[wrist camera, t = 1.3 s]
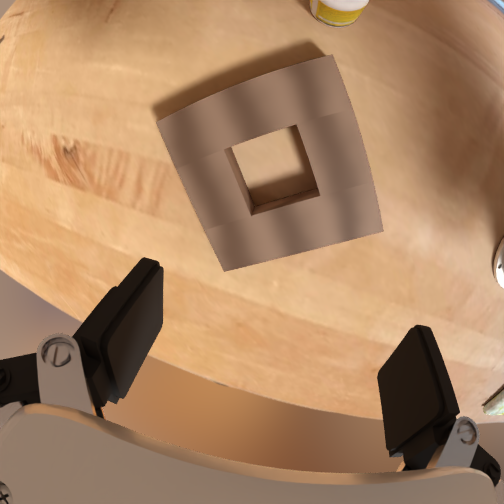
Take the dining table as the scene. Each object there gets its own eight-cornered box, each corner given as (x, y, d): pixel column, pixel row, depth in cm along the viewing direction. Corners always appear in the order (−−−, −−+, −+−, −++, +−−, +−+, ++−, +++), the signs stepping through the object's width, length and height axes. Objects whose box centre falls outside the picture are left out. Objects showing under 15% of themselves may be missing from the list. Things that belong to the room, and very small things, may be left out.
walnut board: (329, 59, 25) (332, 54, 22) (377, 221, 33) (383, 231, 30) (167, 120, 31) (155, 122, 28) (229, 259, 39) (224, 271, 36)
